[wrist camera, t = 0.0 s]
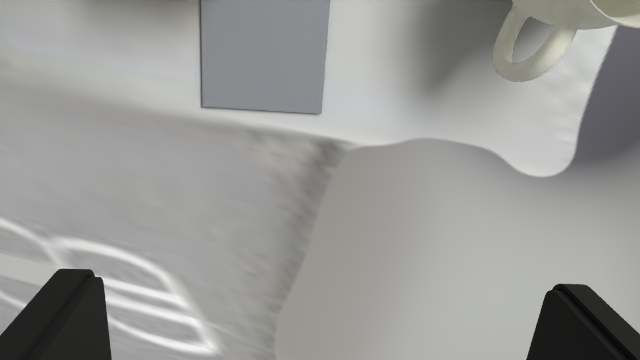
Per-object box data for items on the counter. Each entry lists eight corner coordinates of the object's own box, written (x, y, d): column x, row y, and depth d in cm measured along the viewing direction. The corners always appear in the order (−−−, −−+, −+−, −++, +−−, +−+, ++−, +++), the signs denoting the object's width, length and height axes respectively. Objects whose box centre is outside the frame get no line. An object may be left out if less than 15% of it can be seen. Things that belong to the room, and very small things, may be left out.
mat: (201, -23, 35) (200, -24, 35) (330, -13, 36) (331, -13, 36) (203, 105, 39) (202, 106, 38) (320, 112, 40) (321, 113, 39)
